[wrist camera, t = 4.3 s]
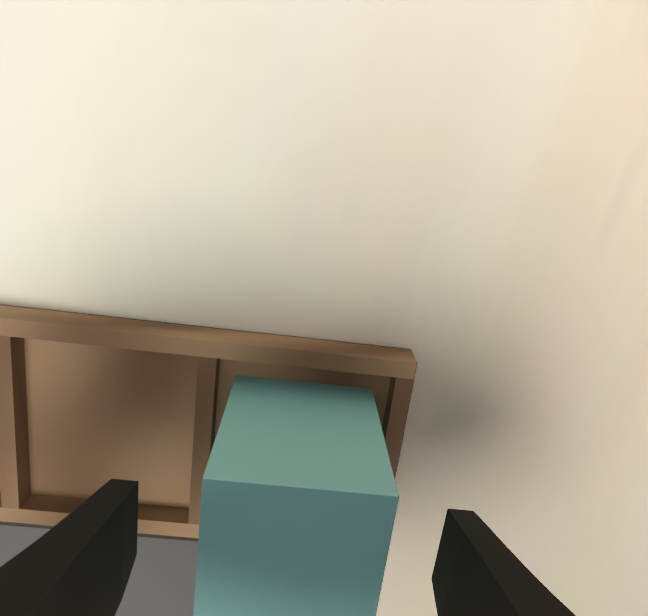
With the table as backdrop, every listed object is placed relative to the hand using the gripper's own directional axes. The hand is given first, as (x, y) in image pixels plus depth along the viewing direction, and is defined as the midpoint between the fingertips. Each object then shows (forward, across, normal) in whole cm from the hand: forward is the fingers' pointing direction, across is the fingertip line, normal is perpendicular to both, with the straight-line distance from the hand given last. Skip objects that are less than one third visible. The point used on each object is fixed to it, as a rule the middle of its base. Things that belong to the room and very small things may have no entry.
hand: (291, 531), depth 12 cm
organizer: (+4, +5, 0) cm, 7 cm away
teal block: (+4, 0, 0) cm, 4 cm away
